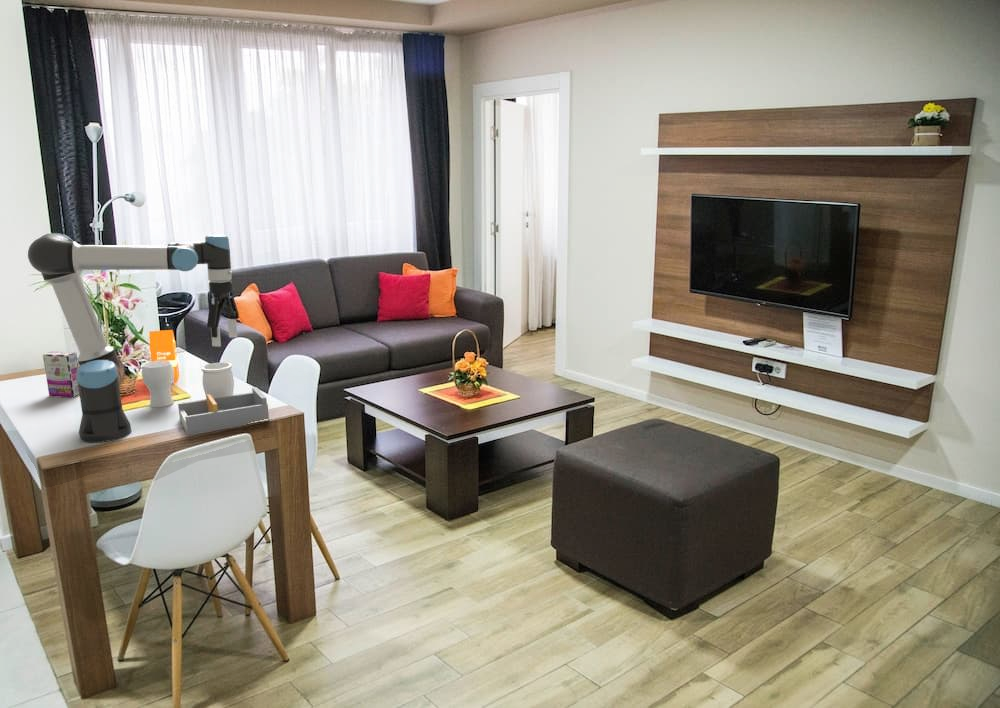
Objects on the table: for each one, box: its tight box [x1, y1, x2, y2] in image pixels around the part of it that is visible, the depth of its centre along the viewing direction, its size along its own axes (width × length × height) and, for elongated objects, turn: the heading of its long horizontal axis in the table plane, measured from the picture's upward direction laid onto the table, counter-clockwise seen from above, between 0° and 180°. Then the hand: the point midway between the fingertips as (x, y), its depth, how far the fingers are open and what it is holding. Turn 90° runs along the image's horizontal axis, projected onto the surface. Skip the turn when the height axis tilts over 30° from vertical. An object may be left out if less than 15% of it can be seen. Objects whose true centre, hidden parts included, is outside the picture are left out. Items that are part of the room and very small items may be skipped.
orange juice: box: [148, 329, 180, 382], centre depth 323 cm, size 8×9×20 cm
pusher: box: [205, 394, 223, 413], centre depth 272 cm, size 4×14×7 cm, turn 29°
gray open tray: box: [177, 386, 270, 436], centre depth 274 cm, size 26×17×8 cm, turn 119°
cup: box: [141, 361, 174, 408], centre depth 292 cm, size 11×11×15 cm
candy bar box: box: [42, 351, 80, 398], centre depth 304 cm, size 11×5×16 cm, turn 76°
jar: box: [200, 362, 235, 398], centre depth 288 cm, size 11×10×15 cm
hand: (225, 341), depth 281 cm, fingers open, 13 cm apart
